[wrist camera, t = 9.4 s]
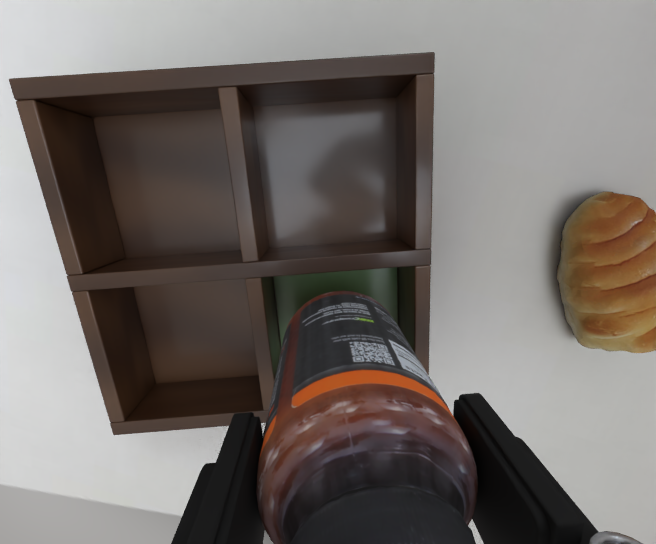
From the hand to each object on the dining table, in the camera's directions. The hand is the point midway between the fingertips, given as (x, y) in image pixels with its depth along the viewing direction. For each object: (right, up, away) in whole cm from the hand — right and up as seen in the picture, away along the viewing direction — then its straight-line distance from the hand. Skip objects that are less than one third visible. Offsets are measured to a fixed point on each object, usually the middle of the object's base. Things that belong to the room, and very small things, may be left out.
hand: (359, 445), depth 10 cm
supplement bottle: (0, +2, +7) cm, 7 cm away
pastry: (+16, +5, +11) cm, 20 cm away
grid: (-5, +6, +9) cm, 12 cm away
